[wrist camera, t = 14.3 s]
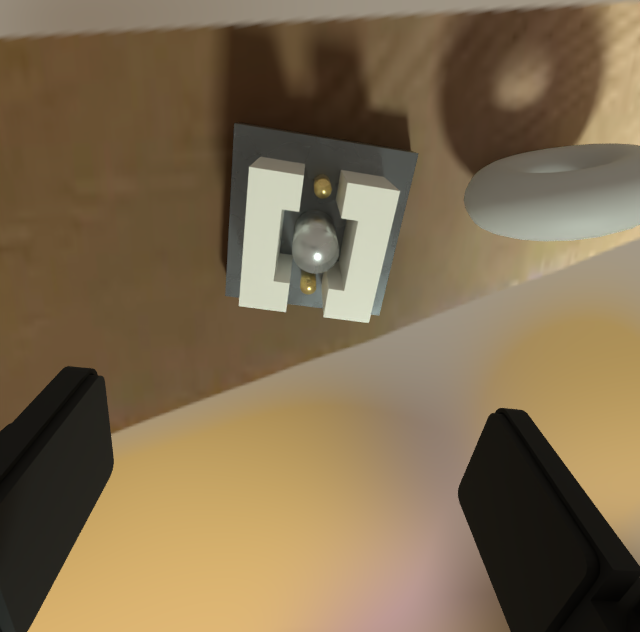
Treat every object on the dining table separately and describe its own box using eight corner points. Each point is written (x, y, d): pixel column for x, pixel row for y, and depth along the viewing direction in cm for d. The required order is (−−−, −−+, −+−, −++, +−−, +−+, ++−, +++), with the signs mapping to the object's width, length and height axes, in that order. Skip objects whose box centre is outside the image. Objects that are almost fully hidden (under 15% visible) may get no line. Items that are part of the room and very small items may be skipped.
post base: (230, 284, 30) (211, 326, 24) (239, 122, 25) (218, 125, 19) (375, 303, 31) (390, 347, 25) (410, 150, 26) (439, 162, 20)
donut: (444, 216, 28) (506, 265, 19) (441, 164, 27) (508, 191, 18) (591, 187, 27) (727, 224, 18) (597, 132, 26) (749, 144, 17)
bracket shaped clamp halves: (260, 156, 24) (249, 166, 20) (383, 176, 25) (400, 191, 20) (250, 274, 28) (238, 306, 23) (359, 289, 28) (368, 322, 24)
